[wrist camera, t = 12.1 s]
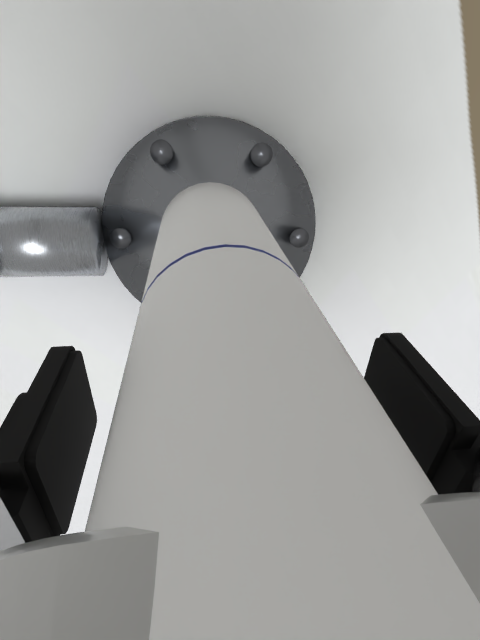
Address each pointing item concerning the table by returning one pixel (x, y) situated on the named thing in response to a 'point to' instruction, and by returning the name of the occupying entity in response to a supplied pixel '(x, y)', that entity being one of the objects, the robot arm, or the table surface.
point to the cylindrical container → (265, 455)
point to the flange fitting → (162, 203)
